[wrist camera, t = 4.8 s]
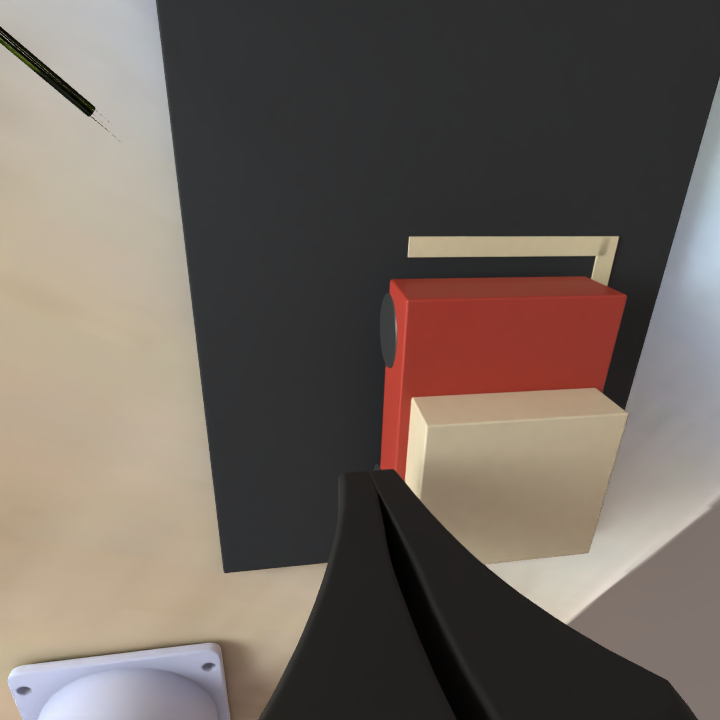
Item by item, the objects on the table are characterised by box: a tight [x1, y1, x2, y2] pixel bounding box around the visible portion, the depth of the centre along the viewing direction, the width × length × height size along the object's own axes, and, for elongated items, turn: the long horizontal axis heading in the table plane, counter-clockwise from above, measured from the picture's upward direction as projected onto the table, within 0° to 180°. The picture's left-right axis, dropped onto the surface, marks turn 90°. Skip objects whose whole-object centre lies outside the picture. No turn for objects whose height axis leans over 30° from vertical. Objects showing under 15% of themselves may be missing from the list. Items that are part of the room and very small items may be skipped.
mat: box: [156, 0, 720, 573], centre depth 16 cm, size 20×15×1 cm
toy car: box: [374, 276, 628, 564], centre depth 15 cm, size 9×4×6 cm
